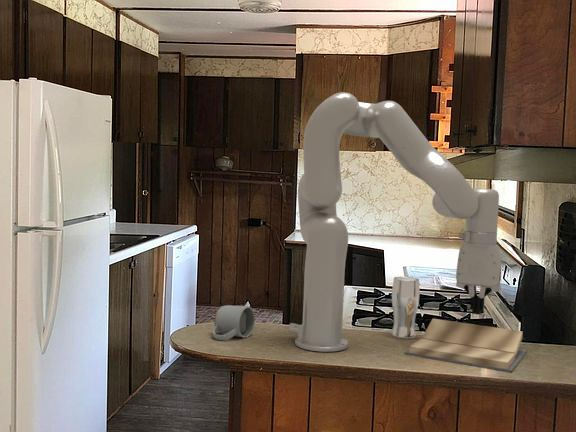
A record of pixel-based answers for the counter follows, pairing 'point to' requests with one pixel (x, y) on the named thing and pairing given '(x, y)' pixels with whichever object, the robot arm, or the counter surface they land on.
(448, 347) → the board
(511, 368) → the underlay mat
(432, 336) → the loose plank
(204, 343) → the counter surface
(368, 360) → the counter surface
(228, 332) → the ceramic mug
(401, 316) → the beer glass
